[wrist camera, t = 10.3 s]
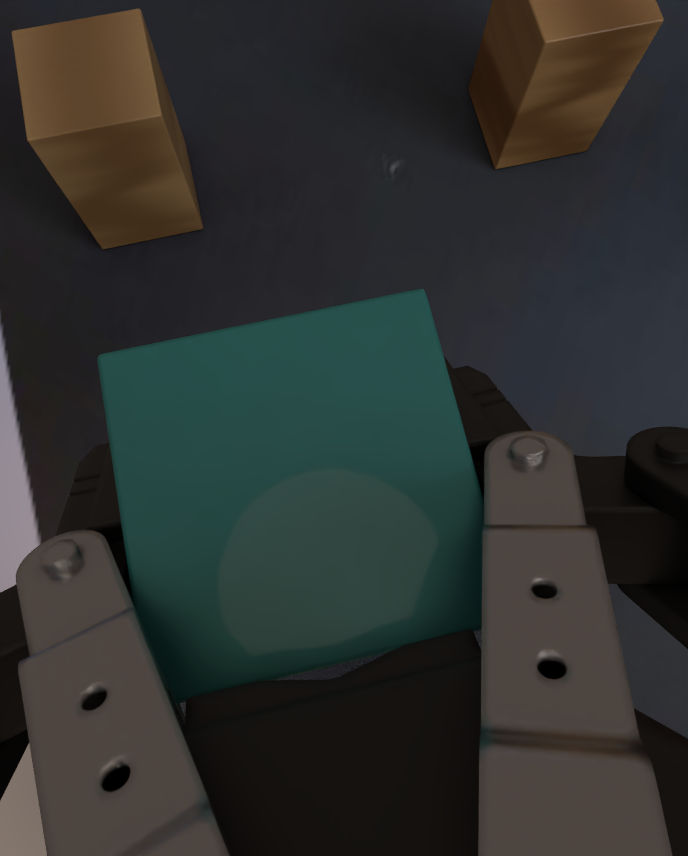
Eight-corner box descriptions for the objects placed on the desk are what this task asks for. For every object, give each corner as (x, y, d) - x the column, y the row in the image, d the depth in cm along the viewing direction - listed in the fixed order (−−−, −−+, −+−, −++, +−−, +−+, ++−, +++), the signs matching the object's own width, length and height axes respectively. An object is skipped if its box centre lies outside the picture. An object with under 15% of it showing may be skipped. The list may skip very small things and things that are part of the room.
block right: (494, 170, 33) (544, 42, 25) (467, 89, 34) (507, -58, 26) (587, 151, 33) (665, 19, 25) (557, 71, 34) (623, -79, 26)
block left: (102, 250, 31) (26, 140, 24) (87, 162, 32) (10, 30, 25) (203, 229, 32) (161, 115, 24) (185, 143, 33) (140, 7, 25)
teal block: (237, 650, 16) (146, 712, 8) (202, 457, 17) (94, 353, 9) (431, 603, 16) (520, 621, 9) (384, 418, 17) (425, 285, 10)
